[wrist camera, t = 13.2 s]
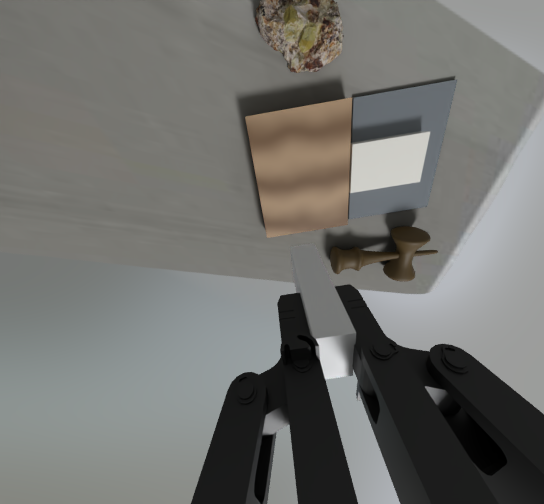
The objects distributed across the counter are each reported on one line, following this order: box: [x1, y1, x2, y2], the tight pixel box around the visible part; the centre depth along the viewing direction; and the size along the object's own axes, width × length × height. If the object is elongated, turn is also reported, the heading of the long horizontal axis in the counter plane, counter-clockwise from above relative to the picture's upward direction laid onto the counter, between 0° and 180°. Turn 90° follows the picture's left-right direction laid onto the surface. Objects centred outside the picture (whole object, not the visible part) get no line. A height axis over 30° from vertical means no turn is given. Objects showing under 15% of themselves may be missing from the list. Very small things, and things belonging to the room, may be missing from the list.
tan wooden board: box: [245, 98, 352, 238], centre depth 33 cm, size 18×14×2 cm
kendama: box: [330, 226, 438, 281], centre depth 41 cm, size 6×10×20 cm
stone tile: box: [349, 131, 430, 193], centre depth 33 cm, size 7×11×2 cm, turn 98°
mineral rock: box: [255, 0, 344, 73], centre depth 25 cm, size 11×4×8 cm
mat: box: [348, 80, 457, 219], centre depth 34 cm, size 18×14×1 cm
